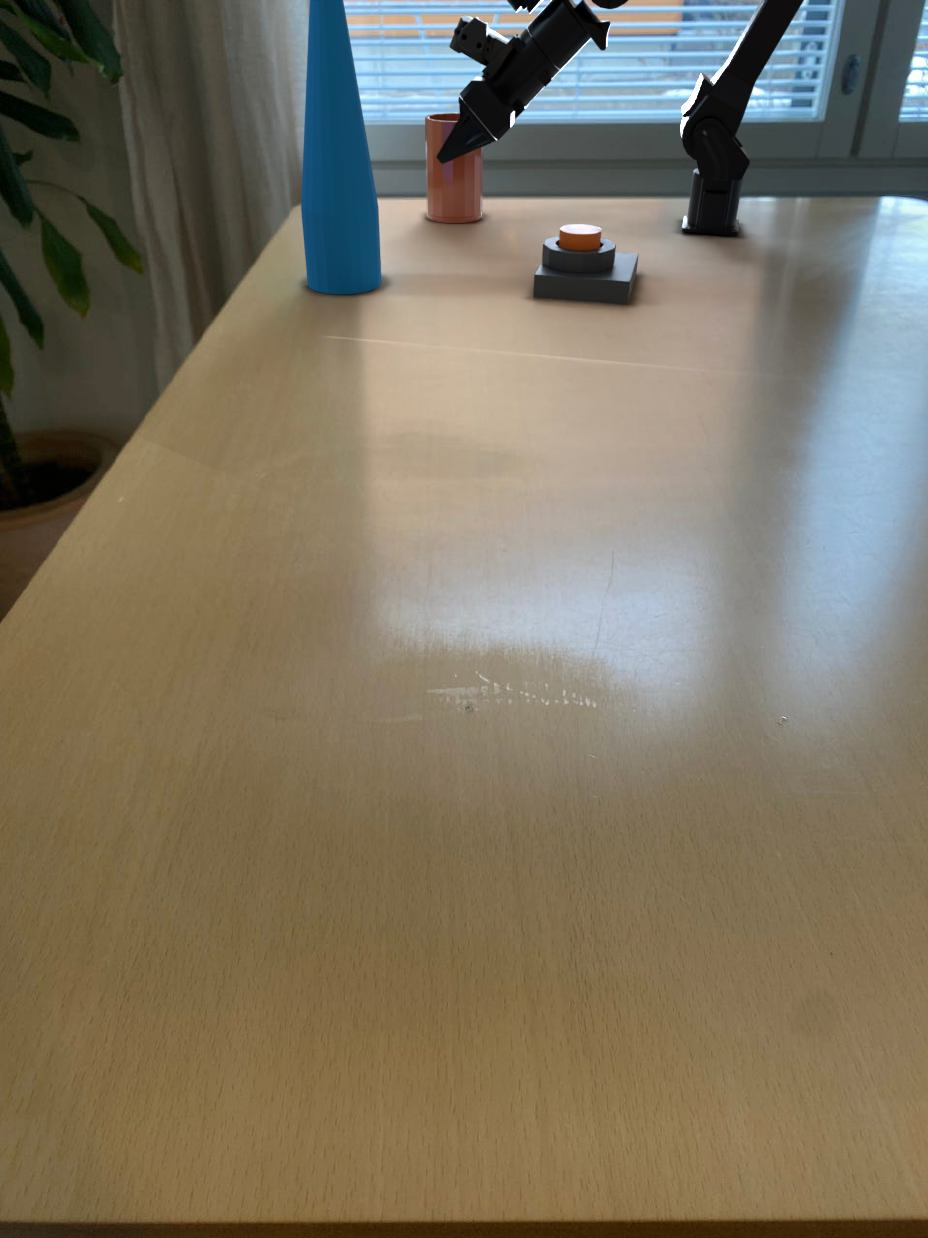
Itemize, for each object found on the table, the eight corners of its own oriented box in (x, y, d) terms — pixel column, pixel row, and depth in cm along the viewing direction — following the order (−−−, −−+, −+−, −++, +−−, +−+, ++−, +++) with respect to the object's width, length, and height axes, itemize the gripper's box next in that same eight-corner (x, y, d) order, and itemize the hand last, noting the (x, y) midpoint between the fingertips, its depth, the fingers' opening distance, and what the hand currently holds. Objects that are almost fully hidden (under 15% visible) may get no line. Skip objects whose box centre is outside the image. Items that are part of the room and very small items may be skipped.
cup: (434, 208, 120) (433, 111, 114) (486, 211, 119) (488, 113, 112) (420, 221, 115) (418, 119, 108) (475, 224, 113) (476, 122, 107)
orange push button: (561, 241, 94) (563, 222, 92) (602, 244, 93) (603, 225, 92) (555, 251, 90) (556, 232, 89) (597, 254, 90) (599, 235, 89)
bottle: (370, 296, 90) (352, -104, 73) (297, 291, 91) (262, -105, 74) (389, 275, 96) (376, -100, 79) (320, 271, 97) (292, -100, 80)
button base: (549, 269, 98) (551, 228, 96) (636, 275, 97) (640, 234, 94) (533, 297, 90) (535, 254, 88) (627, 305, 89) (632, 261, 86)
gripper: (505, -18, 110) (414, 87, 118) (482, -11, 95) (379, 108, 103) (568, 63, 113) (475, 159, 121) (554, 81, 98) (450, 190, 106)
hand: (446, 153), depth 113 cm, fingers open, 9 cm apart
